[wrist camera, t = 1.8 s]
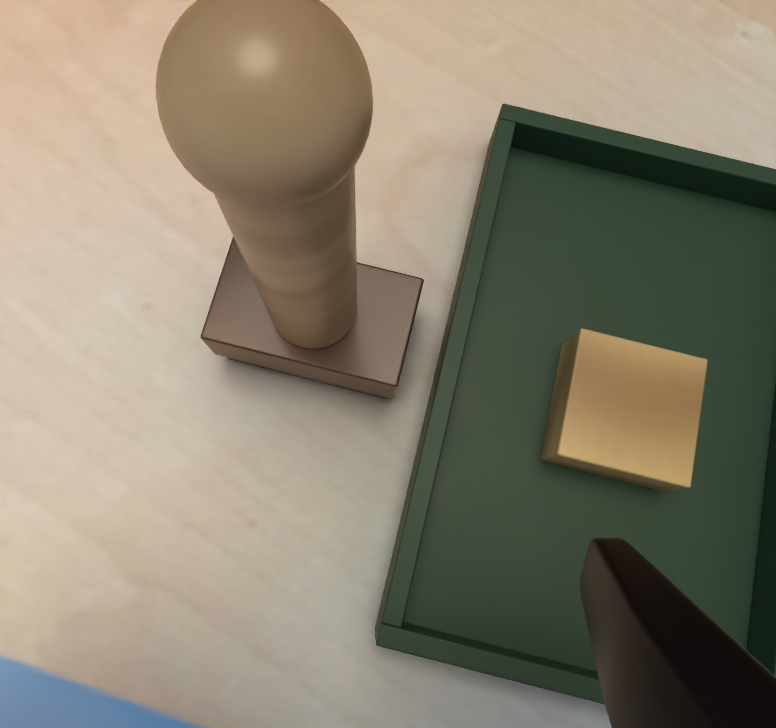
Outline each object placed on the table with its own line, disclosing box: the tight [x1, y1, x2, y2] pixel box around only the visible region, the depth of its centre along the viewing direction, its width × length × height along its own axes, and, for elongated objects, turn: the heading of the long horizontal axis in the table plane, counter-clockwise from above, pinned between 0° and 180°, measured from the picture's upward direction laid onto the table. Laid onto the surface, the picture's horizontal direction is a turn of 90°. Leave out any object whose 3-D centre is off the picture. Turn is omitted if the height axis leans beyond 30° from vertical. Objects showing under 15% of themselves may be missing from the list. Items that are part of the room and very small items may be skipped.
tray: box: [375, 104, 776, 704], centre depth 21 cm, size 18×12×2 cm, turn 166°
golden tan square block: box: [540, 328, 708, 490], centre depth 21 cm, size 4×4×2 cm
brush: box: [156, 0, 424, 398], centre depth 16 cm, size 4×6×15 cm, turn 76°
